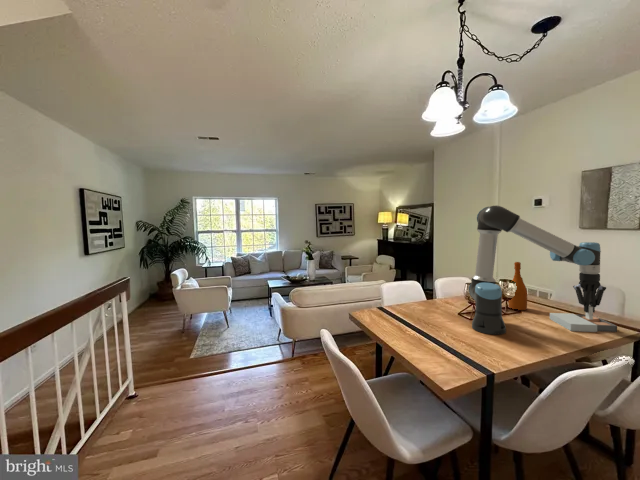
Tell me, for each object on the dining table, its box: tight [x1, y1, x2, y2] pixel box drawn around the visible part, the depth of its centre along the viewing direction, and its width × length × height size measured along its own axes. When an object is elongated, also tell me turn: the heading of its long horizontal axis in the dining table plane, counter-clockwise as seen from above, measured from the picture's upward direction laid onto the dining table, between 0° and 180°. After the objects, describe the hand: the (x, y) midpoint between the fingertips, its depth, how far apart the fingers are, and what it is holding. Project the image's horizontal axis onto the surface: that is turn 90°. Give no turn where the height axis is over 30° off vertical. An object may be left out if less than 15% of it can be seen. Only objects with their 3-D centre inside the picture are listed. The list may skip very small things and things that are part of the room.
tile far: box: [581, 315, 600, 323], centre depth 147 cm, size 5×5×2 cm
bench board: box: [549, 312, 598, 333], centre depth 144 cm, size 11×18×4 cm, turn 167°
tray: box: [576, 314, 618, 333], centre depth 143 cm, size 8×16×3 cm, turn 167°
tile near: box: [593, 322, 610, 325], centre depth 138 cm, size 5×5×2 cm
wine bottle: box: [507, 261, 528, 311], centre depth 174 cm, size 10×10×30 cm
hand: (589, 318), depth 140 cm, fingers closed
